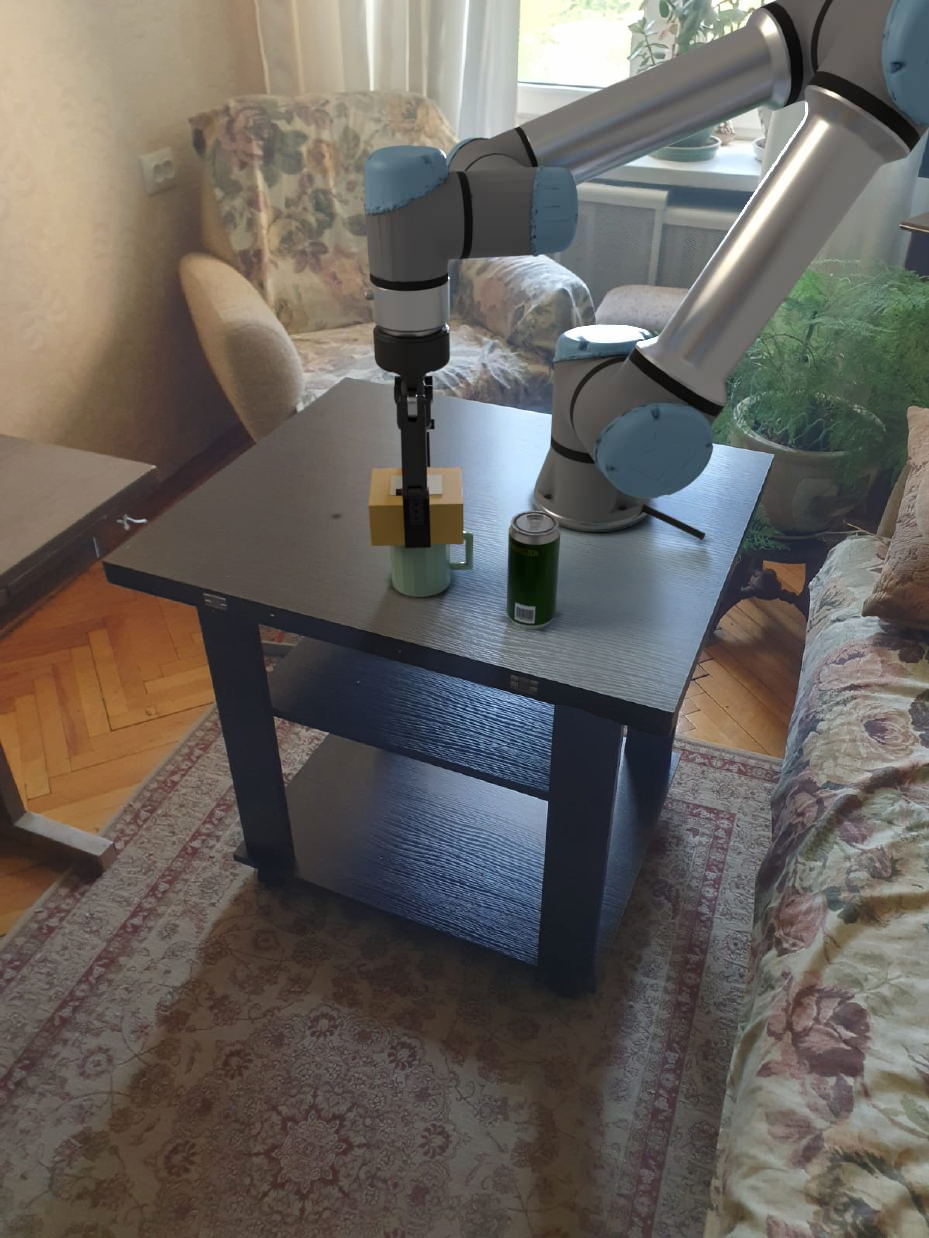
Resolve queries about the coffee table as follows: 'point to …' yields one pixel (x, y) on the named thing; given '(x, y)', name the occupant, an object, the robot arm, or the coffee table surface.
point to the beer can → (532, 569)
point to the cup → (426, 567)
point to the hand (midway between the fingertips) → (418, 514)
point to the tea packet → (442, 506)
